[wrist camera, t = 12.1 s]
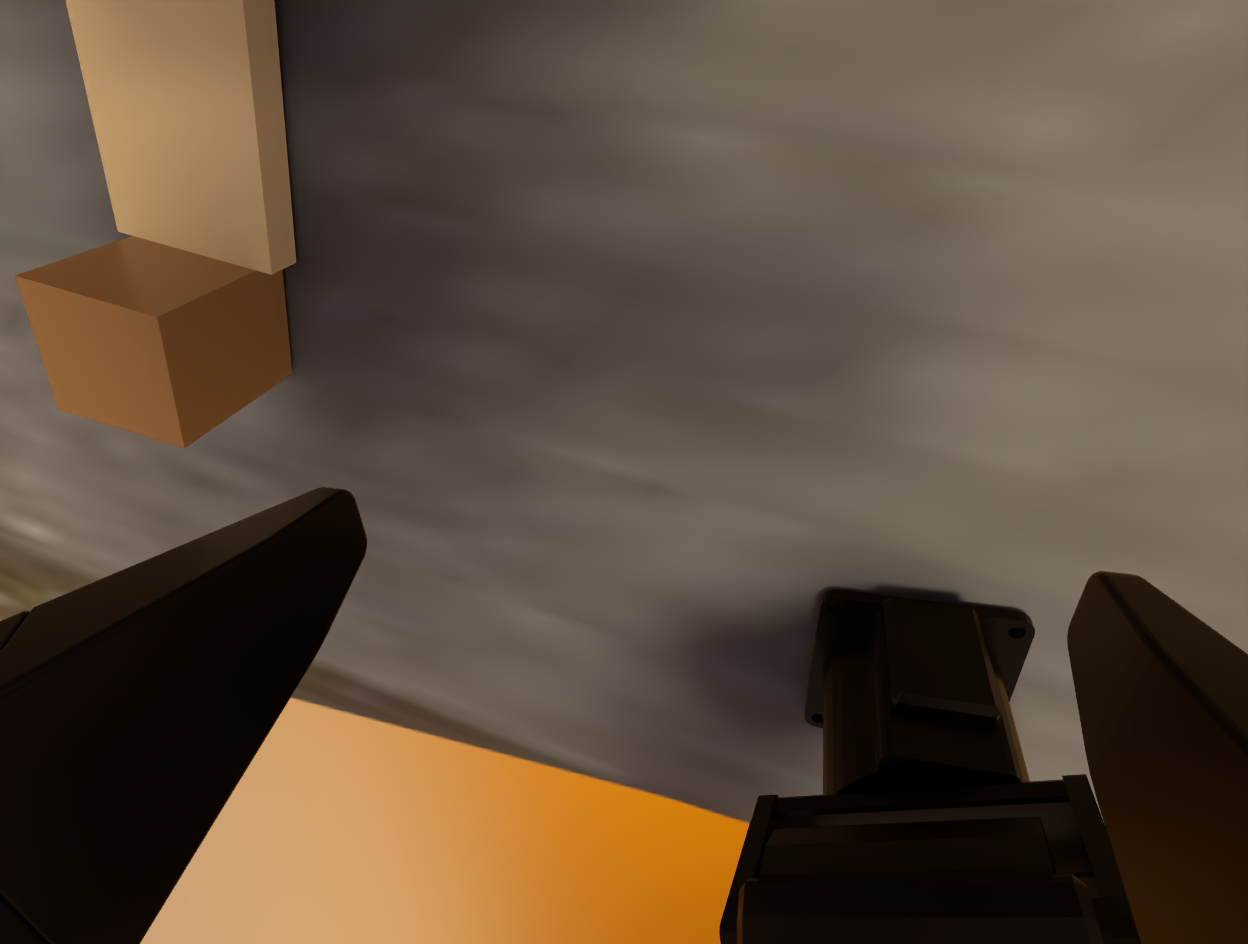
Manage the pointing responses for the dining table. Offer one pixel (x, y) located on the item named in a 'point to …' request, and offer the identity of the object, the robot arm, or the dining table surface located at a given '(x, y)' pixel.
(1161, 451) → the dining table surface
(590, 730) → the dining table surface
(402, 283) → the dining table surface
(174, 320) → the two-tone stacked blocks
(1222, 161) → the dining table surface
